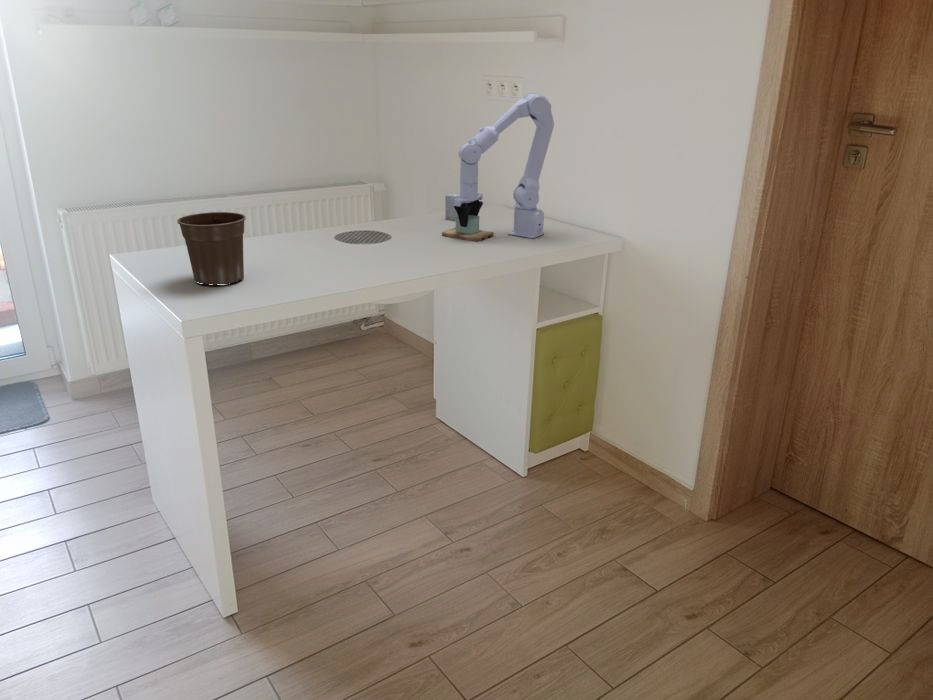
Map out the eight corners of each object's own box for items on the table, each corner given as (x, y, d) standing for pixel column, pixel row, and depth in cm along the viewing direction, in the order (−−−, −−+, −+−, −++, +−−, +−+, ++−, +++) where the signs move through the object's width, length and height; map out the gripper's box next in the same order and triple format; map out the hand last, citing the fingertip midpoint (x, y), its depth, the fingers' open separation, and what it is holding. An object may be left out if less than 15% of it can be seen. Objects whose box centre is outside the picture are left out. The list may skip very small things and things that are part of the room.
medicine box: (470, 220, 255) (470, 195, 252) (463, 222, 252) (463, 197, 249) (451, 217, 259) (452, 193, 256) (444, 219, 256) (445, 195, 252)
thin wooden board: (494, 235, 234) (494, 232, 233) (478, 241, 226) (478, 238, 225) (457, 230, 240) (458, 226, 240) (441, 235, 232) (441, 232, 232)
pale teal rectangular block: (479, 231, 233) (479, 216, 231) (471, 234, 229) (471, 219, 227) (463, 229, 236) (463, 214, 234) (455, 231, 232) (455, 216, 230)
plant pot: (177, 277, 185) (168, 215, 178) (237, 267, 194) (231, 208, 188) (198, 293, 173) (189, 227, 167) (261, 282, 182) (255, 219, 176)
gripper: (470, 178, 234) (469, 219, 239) (446, 184, 223) (445, 227, 228) (488, 180, 231) (487, 222, 236) (465, 186, 219) (464, 230, 224)
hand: (468, 225), depth 232 cm, fingers closed on pale teal rectangular block, 5 cm apart
